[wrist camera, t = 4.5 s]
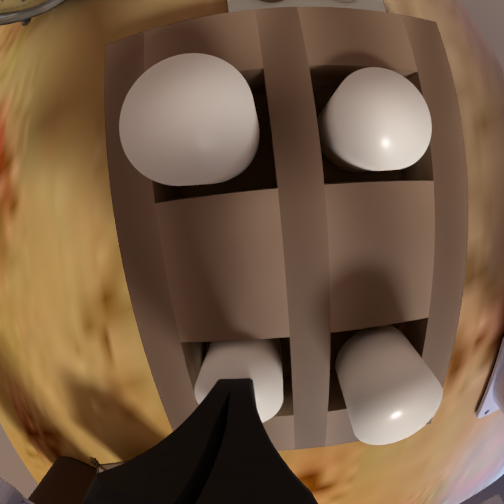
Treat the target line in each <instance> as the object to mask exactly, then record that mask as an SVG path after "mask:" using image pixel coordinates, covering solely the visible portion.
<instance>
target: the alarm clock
mask: <svg viewBox="0 0 504 504" xmlns="http://www.w3.org/2000/svg"><path fill="white" fill-rule="evenodd" d="M65 1H67V0H0V25H6V24H11V23H16V22H20V21H22V25H23V26H25V25H27V24H28V23H29V21H30V19H29V18H32V17H35V16H38V15H41V14H43V13H45V12H47V11H49V10H51V9H53V8H55V7H57V6H58V5H60V4H62V3H64V2H65Z"/></svg>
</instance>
